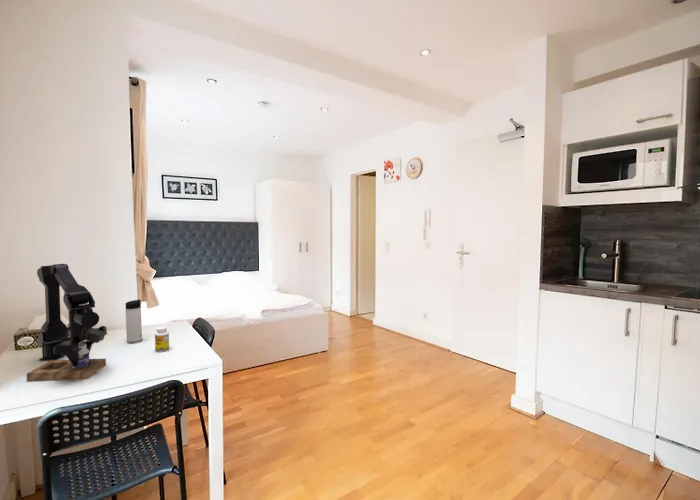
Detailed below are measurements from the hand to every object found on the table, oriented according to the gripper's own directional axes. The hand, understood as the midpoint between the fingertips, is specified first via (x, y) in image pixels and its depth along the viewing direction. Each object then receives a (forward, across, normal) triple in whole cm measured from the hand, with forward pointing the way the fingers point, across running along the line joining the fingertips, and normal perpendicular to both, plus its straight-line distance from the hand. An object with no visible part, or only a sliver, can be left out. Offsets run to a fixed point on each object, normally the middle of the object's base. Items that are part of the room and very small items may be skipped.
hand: (80, 362), depth 132 cm
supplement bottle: (+4, +22, -21) cm, 30 cm away
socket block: (+4, 0, +4) cm, 6 cm away
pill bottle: (+3, 0, 0) cm, 3 cm away
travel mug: (+4, +35, -3) cm, 35 cm away
